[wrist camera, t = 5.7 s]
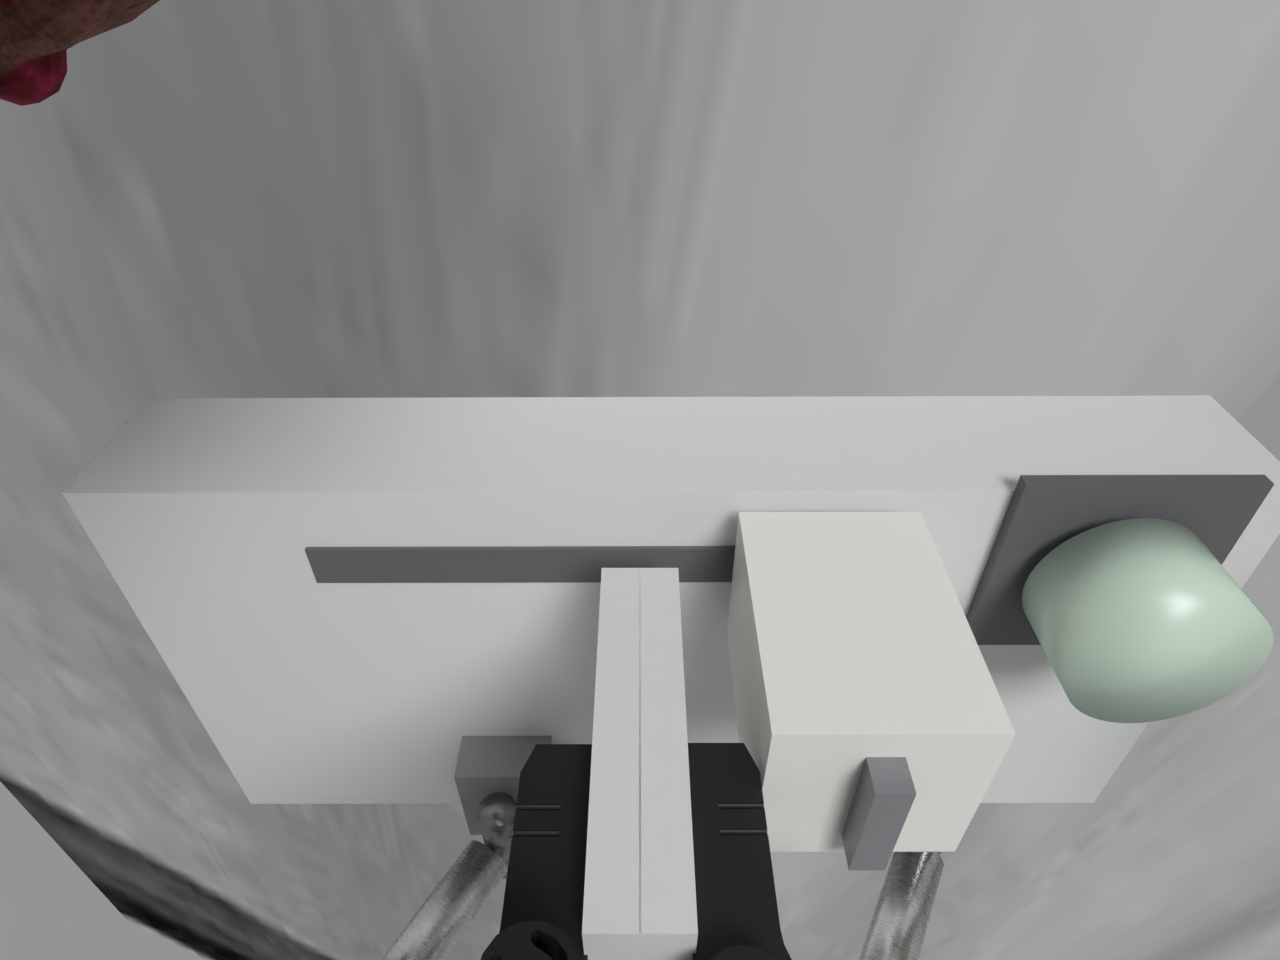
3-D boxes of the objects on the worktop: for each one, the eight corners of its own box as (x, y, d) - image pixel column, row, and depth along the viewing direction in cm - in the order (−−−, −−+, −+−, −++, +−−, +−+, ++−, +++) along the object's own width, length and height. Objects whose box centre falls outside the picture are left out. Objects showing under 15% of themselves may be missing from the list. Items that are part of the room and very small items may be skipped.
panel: (141, 383, 18) (14, 517, 14) (1217, 380, 18) (1364, 514, 14) (291, 703, 26) (234, 843, 22) (1045, 702, 26) (1112, 842, 22)
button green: (1053, 518, 15) (1105, 602, 14) (1238, 517, 15) (1313, 601, 14) (1001, 638, 18) (1040, 723, 16) (1161, 638, 17) (1218, 723, 16)
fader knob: (738, 512, 15) (777, 771, 11) (921, 511, 15) (1031, 771, 11) (726, 631, 18) (754, 886, 13) (885, 631, 18) (966, 886, 13)
